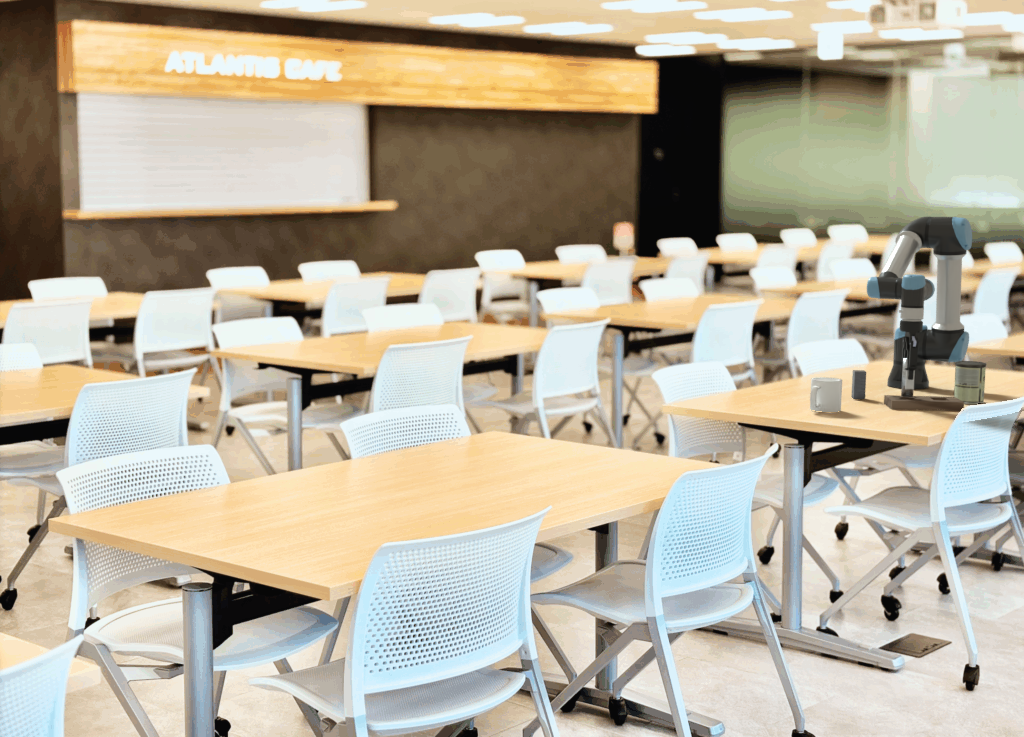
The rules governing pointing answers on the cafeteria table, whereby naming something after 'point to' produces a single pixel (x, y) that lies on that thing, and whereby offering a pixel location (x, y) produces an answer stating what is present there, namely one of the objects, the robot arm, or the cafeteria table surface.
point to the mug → (826, 394)
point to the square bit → (858, 384)
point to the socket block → (923, 403)
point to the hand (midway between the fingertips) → (907, 387)
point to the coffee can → (970, 381)
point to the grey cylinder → (905, 391)
